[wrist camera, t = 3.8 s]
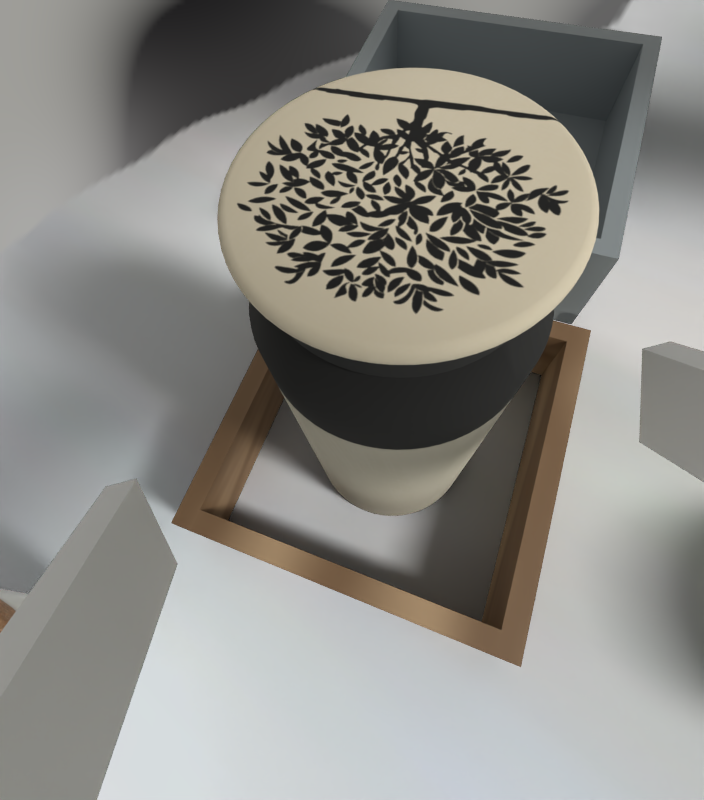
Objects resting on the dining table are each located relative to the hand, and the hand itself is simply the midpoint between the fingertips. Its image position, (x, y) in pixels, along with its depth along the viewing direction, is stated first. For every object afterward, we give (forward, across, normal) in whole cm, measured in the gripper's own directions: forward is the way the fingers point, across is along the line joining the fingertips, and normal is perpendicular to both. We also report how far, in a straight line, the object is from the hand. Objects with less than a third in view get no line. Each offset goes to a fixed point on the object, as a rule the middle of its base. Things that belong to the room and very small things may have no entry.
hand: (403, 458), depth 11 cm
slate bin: (+24, +12, +6) cm, 28 cm away
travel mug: (+12, +1, -6) cm, 14 cm away
